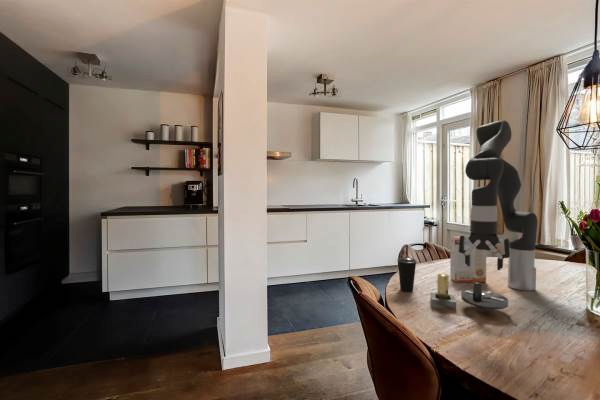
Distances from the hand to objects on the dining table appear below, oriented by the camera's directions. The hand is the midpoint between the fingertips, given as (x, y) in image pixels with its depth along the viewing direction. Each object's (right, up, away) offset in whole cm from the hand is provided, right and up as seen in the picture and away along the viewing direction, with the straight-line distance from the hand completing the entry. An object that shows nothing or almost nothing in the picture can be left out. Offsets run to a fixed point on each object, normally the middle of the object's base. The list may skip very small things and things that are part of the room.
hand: (483, 267), depth 99 cm
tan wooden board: (-2, -17, +7) cm, 19 cm away
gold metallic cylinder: (-8, -16, +11) cm, 21 cm away
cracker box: (+18, -16, +42) cm, 48 cm away
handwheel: (+4, -13, +5) cm, 14 cm away
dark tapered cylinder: (-16, -17, +27) cm, 35 cm away
